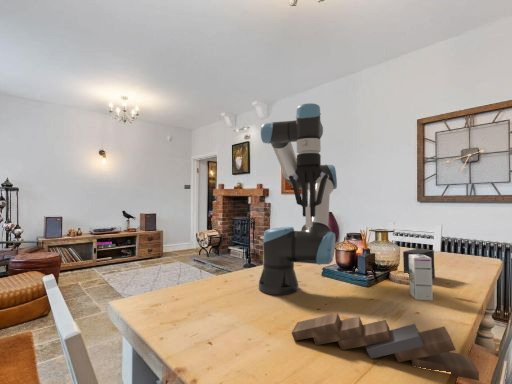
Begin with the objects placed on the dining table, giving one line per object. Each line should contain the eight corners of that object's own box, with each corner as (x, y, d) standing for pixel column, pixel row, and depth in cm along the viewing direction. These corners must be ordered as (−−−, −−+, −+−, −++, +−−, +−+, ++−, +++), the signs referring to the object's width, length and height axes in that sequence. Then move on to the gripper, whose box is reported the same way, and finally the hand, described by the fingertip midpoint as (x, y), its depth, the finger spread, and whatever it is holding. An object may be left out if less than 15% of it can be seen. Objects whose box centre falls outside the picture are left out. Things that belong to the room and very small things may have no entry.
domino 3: (337, 341, 63) (386, 331, 59) (340, 329, 68) (385, 319, 64) (341, 350, 62) (390, 340, 58) (343, 337, 68) (389, 328, 64)
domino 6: (412, 358, 56) (478, 371, 52) (408, 344, 62) (468, 355, 57) (412, 368, 56) (478, 382, 52) (409, 353, 62) (468, 365, 57)
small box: (418, 274, 126) (418, 248, 126) (435, 277, 120) (434, 250, 120) (403, 278, 119) (402, 250, 119) (419, 282, 113) (419, 253, 113)
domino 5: (393, 352, 57) (450, 339, 53) (393, 338, 63) (444, 326, 59) (398, 362, 57) (456, 350, 53) (397, 347, 62) (449, 335, 58)
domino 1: (291, 332, 66) (334, 322, 63) (297, 322, 72) (337, 312, 68) (294, 340, 66) (338, 331, 62) (300, 329, 72) (340, 320, 68)
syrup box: (433, 301, 92) (432, 257, 93) (414, 299, 94) (413, 257, 94) (426, 295, 98) (425, 254, 98) (408, 294, 99) (408, 253, 100)
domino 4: (366, 349, 59) (418, 336, 55) (367, 336, 65) (414, 323, 61) (370, 358, 59) (424, 346, 55) (371, 345, 64) (419, 332, 61)
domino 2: (312, 336, 65) (358, 326, 61) (316, 325, 70) (359, 316, 67) (315, 345, 64) (362, 335, 61) (319, 333, 70) (362, 324, 66)
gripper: (285, 153, 88) (285, 227, 88) (326, 150, 82) (327, 229, 82) (292, 156, 94) (293, 224, 95) (331, 153, 89) (331, 226, 89)
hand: (309, 226), depth 88 cm, fingers closed
